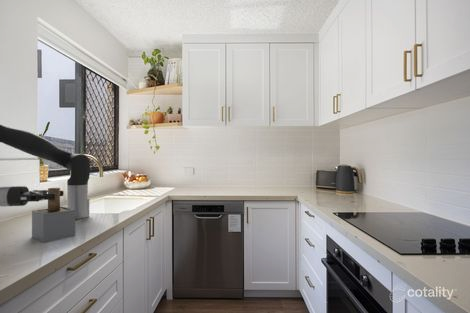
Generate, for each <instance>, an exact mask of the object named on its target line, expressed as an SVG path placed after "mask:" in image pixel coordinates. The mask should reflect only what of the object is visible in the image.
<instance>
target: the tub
mask: <svg viewBox="0 0 470 313" xmlns="http://www.w3.org/2000/svg"><path fill="white" fill-rule="evenodd" d="M60 208H63V209H67V210H65V211H59V212H52V213H46V214H45V213H42V212H39V211H43V210H48V208H41V209H35V210H31V238H32V239H34V240H36V241H39V242H41V243H43V244H44V243H47V242H53V241H57V240H62V239H66V238H70V237H74V236H76V219H75V209H72V208H68V207H67V206H60Z"/></svg>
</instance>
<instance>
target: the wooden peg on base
mask: <svg viewBox="0 0 470 313" xmlns="http://www.w3.org/2000/svg"><path fill="white" fill-rule="evenodd" d="M47 190H48V192H47V194H56V199H54V200H47V209H48V210H43V211H39V212H42V213H45V214H46V213H52V212H59V211H65V210H67V209H63V208H60V207H61V196H60V191H61V187H48V188H47Z"/></svg>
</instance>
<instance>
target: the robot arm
mask: <svg viewBox="0 0 470 313" xmlns="http://www.w3.org/2000/svg"><path fill="white" fill-rule="evenodd" d="M0 143H2V144H5V145H6V146H10V147H11V148H14V149H16V150H18V151H21V152H23V153H26V154H29V155H31V156H34V157H37V158H40V159H43V160H46V161H50V162H53V163H55V164H57V165H59V166H61V167H63V168H65V169H67V170H69V171H70V176H69V178H67V183H66V184H67V185H66V186H67V188H66V191H67V192H66V201H67V202H66V207H68V208H72V209H75V220H80V219H85V218H89V217H90V198H89V194H88V192H89V191H88V190H89V188H88V187H89V180H90V176H91V173H90V172H91V162H90V161H91V160H90V158H89V157H88V156H87V155H86V154H83V153H72V152H69V151H67V150H63V149H61V148H59V147H58V146H56V145H55V144H54V143H53V142H51V141H50V140H48V139H46V138H44V137H42V136H40V135H37V134H35V133H34V132H31V131H27V130H23V129H19V128H18V129H17V128H12V127H9V126H6V125H3V124H0ZM29 190H30V189H29V188H28V187H27V186H25V185H22V186H21V185H20V186H19V185H17V186H0V207H1V208H2V207H24V206H26V205H27V204H28V203H29V202H37V203H38V202H41V201H48V200H54V199H56V194H48V189H39V190H38V189H34V190H30V191H29ZM63 196H64V190H60V197H63Z"/></svg>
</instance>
